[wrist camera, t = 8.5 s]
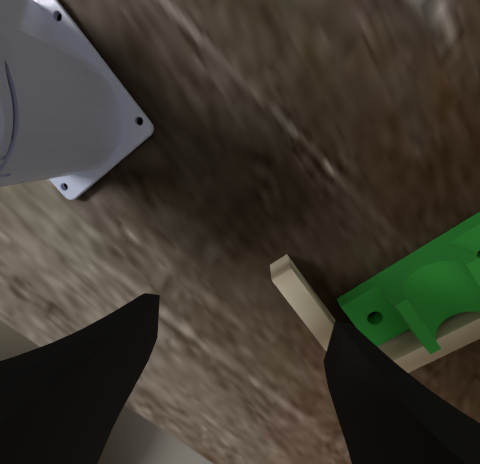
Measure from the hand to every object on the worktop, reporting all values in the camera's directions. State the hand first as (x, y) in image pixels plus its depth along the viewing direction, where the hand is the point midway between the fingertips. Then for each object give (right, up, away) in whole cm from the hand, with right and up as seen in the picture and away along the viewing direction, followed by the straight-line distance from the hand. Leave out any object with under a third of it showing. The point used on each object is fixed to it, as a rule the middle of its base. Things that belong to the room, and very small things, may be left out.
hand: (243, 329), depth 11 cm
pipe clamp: (+11, +2, +7) cm, 13 cm away
